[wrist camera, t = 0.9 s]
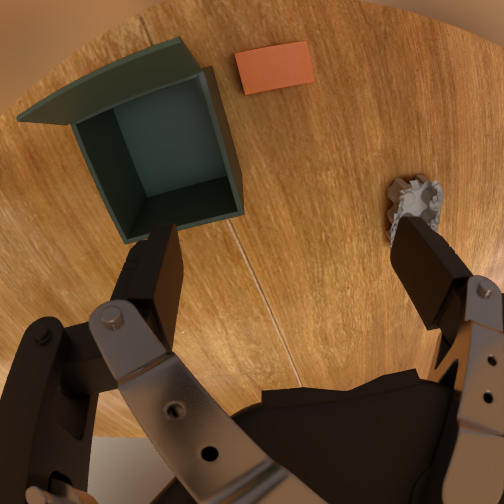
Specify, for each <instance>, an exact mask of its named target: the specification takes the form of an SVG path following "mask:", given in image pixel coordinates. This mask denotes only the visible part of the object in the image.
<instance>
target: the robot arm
mask: <svg viewBox="0 0 504 504" xmlns="http://www.w3.org/2000/svg"><path fill="white" fill-rule="evenodd" d="M390 259H391V264H392V267H393V269H394V270H395V272H396V274H397V276H398V277H399V279H400V281H401V283H402V284H403V286H404V288H405V290H406V291H407V293H408V295H409V297H410V299H411V300H412V302H413V304H414V306H415V308H416V310H417V311H418V313H419V315H420V317H421V319H422V321H423V323H424V325H425V327H426V329H427V331H428V330H433V329H438V328H440V329H441V333H440V335H439V336H438V339H437V343H436V348H435V352H434V356H433V360H432V364H431V368H430V372H429V375H428V378H427V380H425V379H420V378H419V376H418V373H417V371H416V369H410V370H406V371H401V372H397V373H392V374H387V375H382V376H380V377H378V378H376V379H374V380H372V381H370V382H368V383H365V384H363V385H361V386H359V387H356V388H354V389H352V390H349V391H337V390H326V389H316V388H306V387H301V388H291V389H279V390H266V391H262V398H261V402H259V403H256V404H253V405H250V406H248V407H246V408H243V409H242V410H240V411H238V412H236V413H234V414H233V415H232V416H229V415H228V414H227V413H226V412H225V411H224V410H223V409H222V408H221V407H220V405H219V404H218V403H217V402H216V401H215V400H214V399H213V398H212V397H211V395H210V394H209V393H208V392H207V391H206V390H205V388H204V387H203V386H202V385H201V384H200V383H199V381H198V380H197V379H196V378H195V377H194V376H193V374H192V373H191V372H190V371H189V370H188V368H187V367H186V366H185V365H184V363H183V362H182V361H181V360H180V359H179V357H178V356H177V355H176V354H175V353H174V352H172V347H173V340H174V333H175V326H176V319H177V313H178V306H179V300H180V294H181V288H182V282H183V260H182V254H181V249H180V243H179V238H178V232H177V227H176V225H175V224H161V225H153V227H152V229H151V232H150V234H149V237H148V240H139V241H138V242H137V243H136V244H135V245H134V246H133V247H132V248H131V249H130V251H129V253H128V256H127V258H126V262H125V263H124V266H123V268H122V271H121V273H120V275H119V278H118V281H117V283H116V286H115V288H114V291H113V294H112V296H111V299H110V301H107V302H105V303H103V304H101V305H100V306H98V307H97V308H96V309H95V310H94V311H93V313H92V314H91V316H90V318H89V321H88V322H85V323H82V324H78V325H74V326H70V327H66V328H64V327H63V325H62V323H61V322H60V321H59V320H58V319H57V318H55V317H50V316H48V317H42V318H40V319H38V320H36V321H34V322H33V323H32V324H31V325H30V326H29V327H28V328H27V329H26V331H25V333H24V335H23V337H22V340H21V342H20V345H19V347H18V350H17V352H16V355H15V358H14V360H13V363H12V366H11V369H10V371H9V374H8V377H7V380H6V383H5V386H4V389H3V393H2V396H1V399H0V504H98V502H97V501H96V500H95V499H94V497H92V496H91V495H90V494H88V493H87V486H88V473H89V463H90V453H91V444H92V436H93V428H94V421H95V414H96V408H97V402H98V396H99V393H100V392H105V391H109V390H114V389H119V391H120V393H121V395H122V396H123V398H124V400H125V402H126V403H127V405H128V407H129V408H130V410H131V412H132V413H133V415H134V416H135V418H136V420H137V421H138V423H139V424H140V426H141V428H142V429H143V431H144V432H145V434H146V435H147V437H148V438H149V440H150V441H151V443H152V444H153V446H154V447H155V448H156V450H157V451H158V452H159V454H160V456H161V457H162V458H163V460H164V461H165V462H166V464H167V465H168V466H169V468H170V469H171V470H172V472H173V473H174V474H175V477H174V478H173V479H172V480H171V481H170V482H169V483H168V484H167V486H166V487H165V488H164V489H163V490H162V491H161V492H160V493H159V494H158V495H157V496H156V497H155V498H154V499H153V500H152V501H151V502H150V504H504V293H501V291H500V289H499V288H498V286H497V285H496V284H495V283H494V282H493V281H491V280H490V279H488V278H486V277H483V276H480V275H474V276H473V274H472V273H471V272H470V270H469V269H468V268H467V266H466V265H465V264H464V263H463V261H462V260H461V259H460V258H459V256H458V255H457V254H455V251H454V250H453V249H452V248H451V247H449V244H448V243H447V242H446V241H445V239H444V238H443V237H442V236H441V235H439V234H438V233H437V232H435V231H434V230H432V229H431V227H430V226H429V225H428V224H427V223H426V222H425V221H424V219H423V218H422V217H420V216H402V217H401V218H400V219H399V222H398V225H397V229H396V233H395V237H394V241H393V245H392V248H391V253H390Z"/></svg>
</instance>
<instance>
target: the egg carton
mask: <svg viewBox="0 0 504 504" xmlns="http://www.w3.org/2000/svg"><path fill="white" fill-rule="evenodd" d="M409 182H410V183H409V184H407V183H406V182H405V181H404V180H403V179H402V178H395V179H394V182H393V184H392V185H391V186H390V187H388V189H387V195H388V197H389V199H391V200H392V202H394V203H393V205H392V207H391V208H390V209H389V210H387V217H388V218H389V221H390V222H391V223H392V227H391V229H389V230H387V231H386V237H387V238H388V239H389V240H390V242H391V246H390V248H392V245H393V241H394V237H395V233H396V229H397V225H398V222H399V219H400V218H401V217H402V216H420V217H422V218H423V219H424V221H425V222H426V223H427V224H428V225H429V226H430V227H431V229H432V230H434V231H435V232H436V231H437V230H438V229H437V226H438V225H439V224H440V213H441V205H442V201H443V198H444V192H443V189H442V187H441V185H440V183H439V181H434V182H433V183H432V182H430V181H429V180H428V179H427V178H426V177H425V176H423V175H416V177H415V180H414V181H409Z"/></svg>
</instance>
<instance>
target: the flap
mask: <svg viewBox="0 0 504 504" xmlns="http://www.w3.org/2000/svg"><path fill="white" fill-rule="evenodd" d="M200 72H202V69H201V67H200V65H199V64H198V63H197V61H196V60H195V58H194V57H193V55H192V54H191V52H190V51H189V49H188V48H187V47H186V45H185V44H184V42H183V41H182V39H181V38H180V37H178V38H175V39H172V40H169V41H166V42H163V43H160V44H157V45H154V46H152V47H149V48H146V49H144V50H141V51H139V52H136V53H134V54H131V55H129V56H126V57H124V58H122V59H119V60H117V61H115V62H113V63H110V64H108V65H106V66H104V67H102V68H100V69H97V70H95V71H93V72H91V73H89V74H87V75H85V76H83V77H81V78H80V79H78V80H76V81H74V82H72V83H70V84H68V85H67V86H65V87H63V88H61V89H59V90H58V91H56V92H54V93H53V94H51V95H49V96H48V97H46V98H44V99H43V100H41V101H39V102H38V103H36V104H35V105H33V106H32V107H30V108H28V109H27V110H25V111H24V112H22V113H21V114H19V115H18V116H17V121H18V122H33V123H45V124H56V125H68V124H70V123H72V122H74V121H76V120H78V119H80V118H82V117H85V116H87V115H89V114H91V113H93V112H95V111H97V110H100V109H102V108H104V107H106V106H109V105H111V104H113V103H116V102H118V101H120V100H123V99H125V98H128V97H130V96H133V95H135V94H138V93H140V92H143V91H146V90H148V89H151V88H154V87H157V86H160V85H162V84H165V83H168V82H171V81H174V80H177V79H181V78H184V77H187V76H190V75H194V74H197V73H200Z"/></svg>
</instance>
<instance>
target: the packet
mask: <svg viewBox="0 0 504 504" xmlns="http://www.w3.org/2000/svg"><path fill="white" fill-rule="evenodd" d="M234 55H235V59H236V63H237V66H238V70H239V74H240V78H241V82H242V86H243V89H244V93H245V95H249V94H254V93H259V92H263V91H268V90H273V89H278V88H284V87H289V86H295V85H301V84H307V83H314V82H316V81H315V76H314V71H313V66H312V61H311V56H310V52H309V47H308V43H307V41H300V42H293V43H286V44H280V45H274V46H269V47H263V48H258V49H253V50H248V51H244V52H239V53H235V54H234Z"/></svg>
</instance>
